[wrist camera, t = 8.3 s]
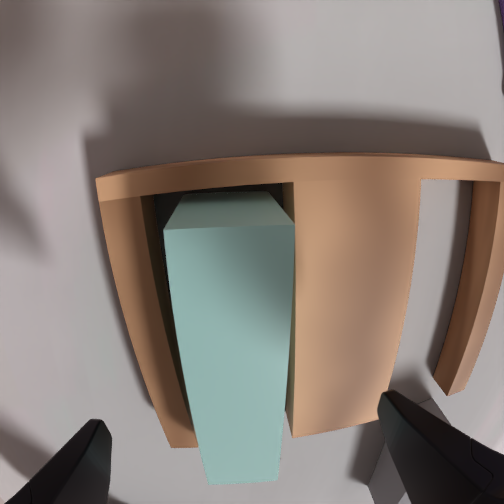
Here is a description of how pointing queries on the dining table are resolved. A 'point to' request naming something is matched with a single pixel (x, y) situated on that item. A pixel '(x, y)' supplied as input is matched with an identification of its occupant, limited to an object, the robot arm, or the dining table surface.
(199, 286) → the teal rod
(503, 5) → the snack package
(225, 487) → the dining table surface
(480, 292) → the comb board
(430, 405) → the rubber rod
